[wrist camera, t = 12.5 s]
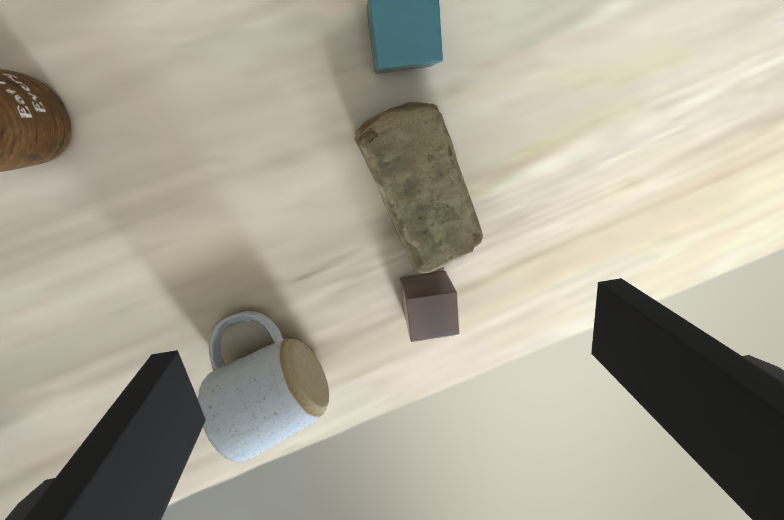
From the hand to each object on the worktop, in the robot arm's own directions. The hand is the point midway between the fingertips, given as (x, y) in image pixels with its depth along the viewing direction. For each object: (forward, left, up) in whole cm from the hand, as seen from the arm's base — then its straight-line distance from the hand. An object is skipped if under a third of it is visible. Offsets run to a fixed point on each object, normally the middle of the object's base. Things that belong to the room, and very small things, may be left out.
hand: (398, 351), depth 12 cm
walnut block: (+3, -9, -20) cm, 22 cm away
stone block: (+4, +1, -20) cm, 21 cm away
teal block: (+3, +11, -20) cm, 23 cm away
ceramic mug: (-12, -13, -20) cm, 27 cm away
